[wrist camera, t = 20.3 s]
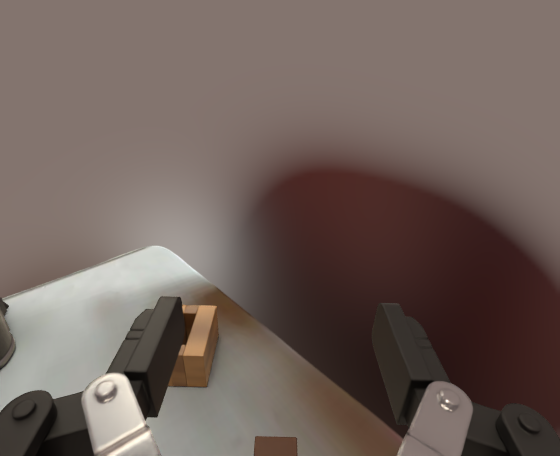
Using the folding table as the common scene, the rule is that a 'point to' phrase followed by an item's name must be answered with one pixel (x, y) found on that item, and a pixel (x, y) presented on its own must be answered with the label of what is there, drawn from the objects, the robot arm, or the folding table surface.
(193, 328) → the knife stand
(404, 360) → the robot arm
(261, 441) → the knife
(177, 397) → the folding table surface
